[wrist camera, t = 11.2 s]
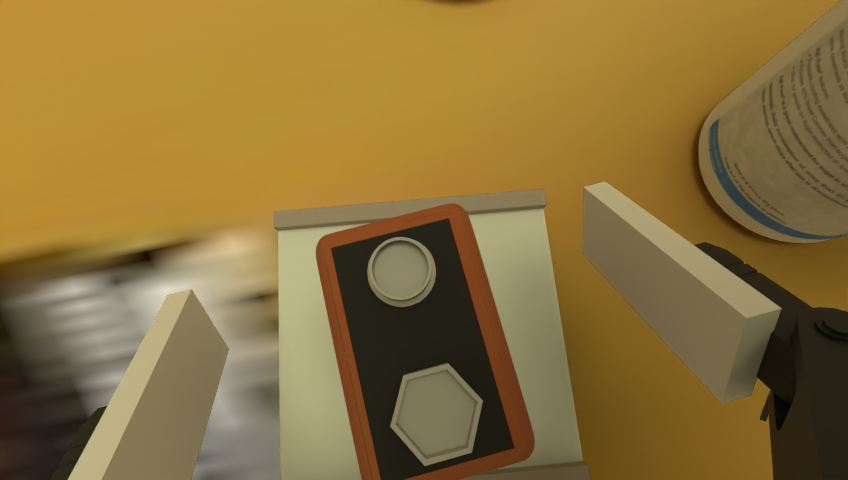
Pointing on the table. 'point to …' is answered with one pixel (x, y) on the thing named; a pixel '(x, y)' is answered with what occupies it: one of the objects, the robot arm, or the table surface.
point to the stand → (518, 311)
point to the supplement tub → (786, 140)
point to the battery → (421, 349)
